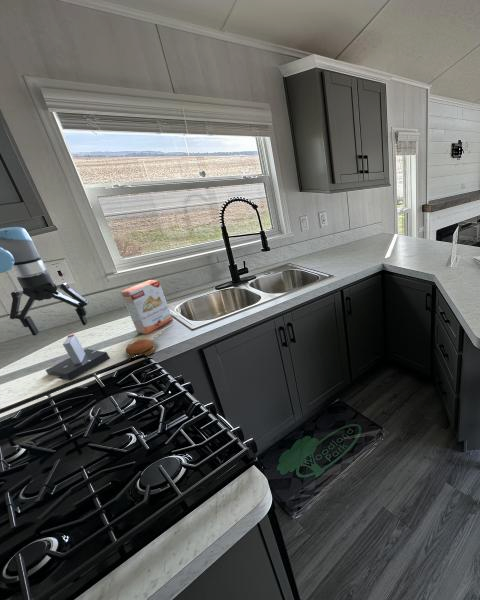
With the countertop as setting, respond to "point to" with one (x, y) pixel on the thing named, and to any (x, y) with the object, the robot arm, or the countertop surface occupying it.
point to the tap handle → (74, 349)
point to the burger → (140, 347)
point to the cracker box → (147, 306)
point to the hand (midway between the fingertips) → (61, 328)
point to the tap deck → (78, 365)
